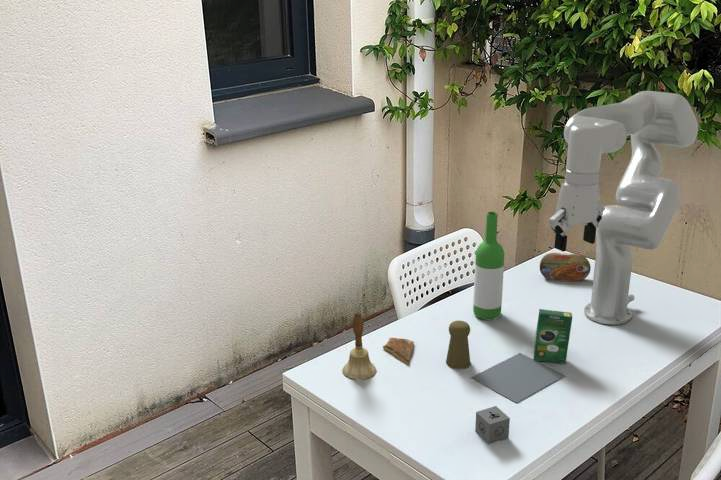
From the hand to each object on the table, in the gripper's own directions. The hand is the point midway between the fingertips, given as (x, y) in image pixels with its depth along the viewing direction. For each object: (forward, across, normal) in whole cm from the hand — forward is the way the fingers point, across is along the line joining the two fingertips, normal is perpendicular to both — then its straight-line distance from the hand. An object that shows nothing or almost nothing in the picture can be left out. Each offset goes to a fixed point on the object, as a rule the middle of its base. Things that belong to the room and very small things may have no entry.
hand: (574, 245), depth 183 cm
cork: (+29, +26, -10) cm, 40 cm away
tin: (+28, -32, -32) cm, 53 cm away
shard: (+30, +34, -22) cm, 50 cm away
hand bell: (+29, +49, -20) cm, 60 cm away
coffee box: (+29, +7, +2) cm, 29 cm away
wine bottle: (+28, +3, -26) cm, 39 cm away
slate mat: (+29, +19, +3) cm, 34 cm away
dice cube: (+30, +39, +18) cm, 52 cm away
